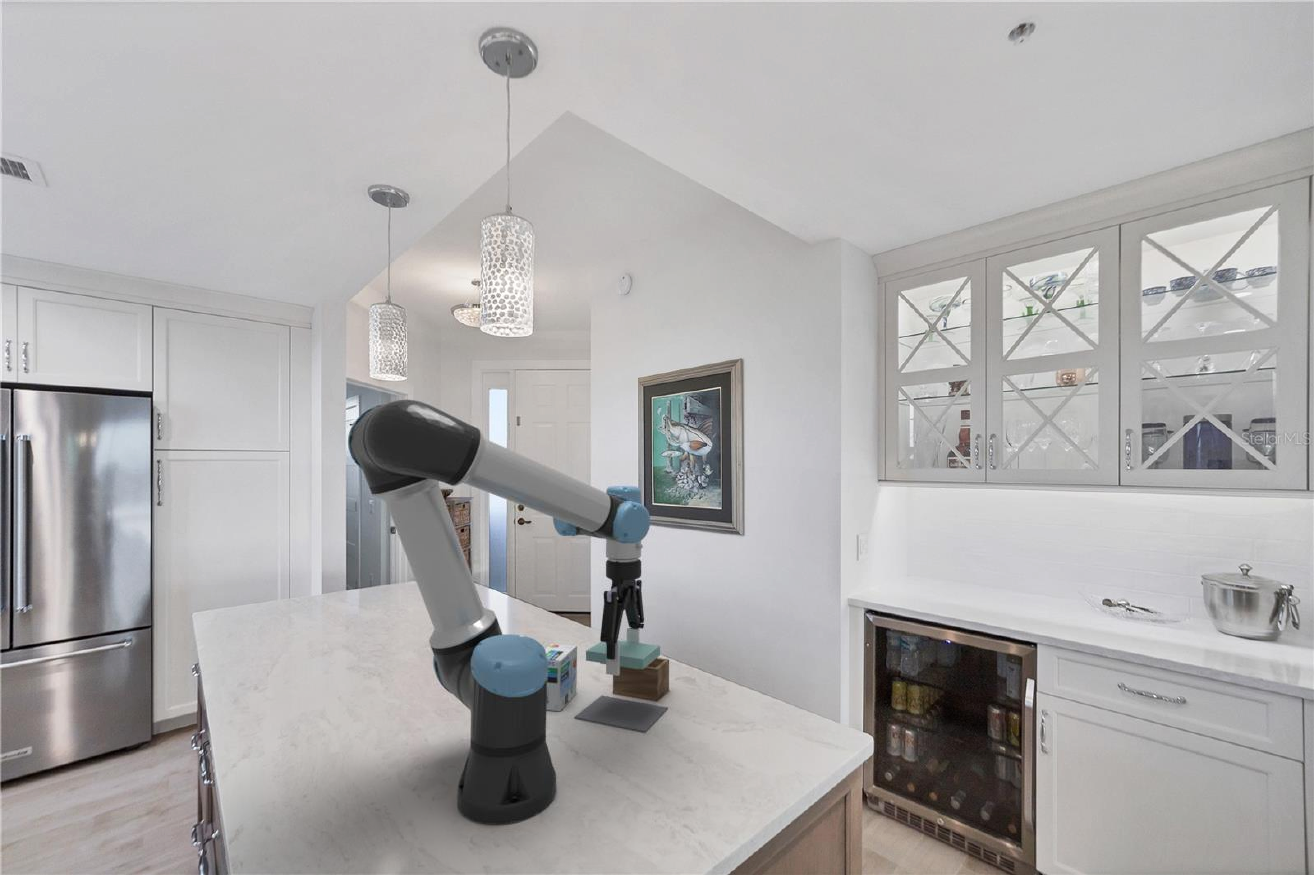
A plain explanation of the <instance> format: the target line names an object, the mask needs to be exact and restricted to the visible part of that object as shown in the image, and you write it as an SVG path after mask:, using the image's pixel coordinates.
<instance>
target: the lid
mask: <svg viewBox="0 0 1314 875" xmlns="http://www.w3.org/2000/svg"><path fill="white" fill-rule="evenodd" d="M617 642H620V667H626V668H633V669H644V668H645V667H646V666H648V665H649V664H650V663H651V662H653V661H654V660H655V659H656V658H660V657H659V656H660V655H661V645H655V644H650V643H641V642H639V643H635V642H628V641H627V640H620V639H618V641H617ZM585 662H593V663H599V664H602V665H606V642H601V641H600V642H598V643H596V644H595V645H593V646H592V647H590V648H589V649H586V650H585Z"/></svg>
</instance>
